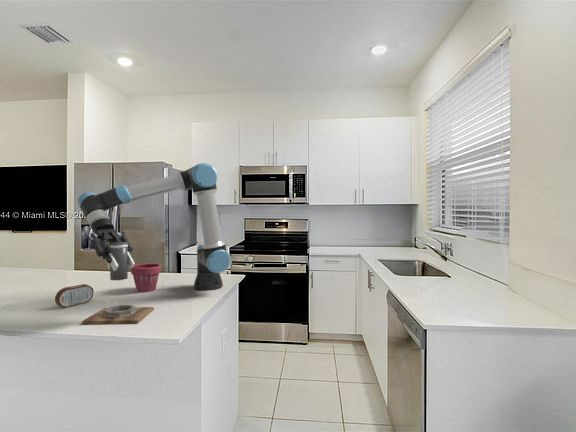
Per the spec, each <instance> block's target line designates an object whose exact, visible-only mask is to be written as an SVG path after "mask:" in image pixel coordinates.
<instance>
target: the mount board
mask: <svg viewBox="0 0 576 432" xmlns="http://www.w3.org/2000/svg"><path fill="white" fill-rule="evenodd" d="M154 310H155V307H154V306H135V305H133V304H118V305H114V306H109V307H103V308H102V309H100V310H99V311H97V312H95V313H93V314H92V315H90V316H88V317H86V318H84V319H83V320H81V325H116V324H117V325H120V324H121V325H122V324H123V325H125V324H126V325H129V324H139V323H140V322H142V321H143V319H145V318H146V317H147V316H149V315H150V314H151V313H152V312H153V311H154Z"/></svg>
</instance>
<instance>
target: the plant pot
mask: <svg viewBox="0 0 576 432" xmlns="http://www.w3.org/2000/svg"><path fill="white" fill-rule="evenodd" d="M161 272H162V265H161V264H159V263H139V264H134V266H133V267H132V268H130V274H131V275H132V277H133V280H134V285H135V289H136V292H139V293H148V292H153V291H155V290H156V288H157V284H158V280H159V275H160V273H161Z"/></svg>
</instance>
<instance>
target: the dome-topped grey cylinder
mask: <svg viewBox="0 0 576 432" xmlns="http://www.w3.org/2000/svg"><path fill="white" fill-rule="evenodd" d="M127 247H128V244H127V242H114V243H112V242H109V253H112V255H113V257H114V258H115V260H116V262H117V264H118V268H117V269H116V271H114V270H113V269H112V267H111V265H110V264H109V266H110V267H109V272H110V273H109V277H110V278H109V279H110V281H123V280H127V279H128V278H129V276H128V274H129V273H128V267H129V265H128V248H127Z"/></svg>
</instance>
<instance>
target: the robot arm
mask: <svg viewBox="0 0 576 432" xmlns="http://www.w3.org/2000/svg"><path fill="white" fill-rule="evenodd" d="M217 181H218V172H217V170H216V168H215V166H213V165H211V164H209V163H206V162H205V163H204V162H203V163H197V164H195V165H194V166H192V167H190V168H188V169H185V170H183V171H180V172H177V174H175V175H171V176H167V177H162V178H159V179H154V180H149V181H145V182H141V183H136V184H133V185H128V186H126V184H121V185H119V186H115V187H112V188H111V189H108V190H106V191H105V190H104V191H103V192H100V193H98V194H96V193H95V192H92V191H89V192H88V191H86V192H84V193H81V194H80V195H79V196H78V197H77V203H78V206H79V209H80V210H81V212H82V214H83V215H84V217H85V219H86V221H87V223H88V224H89V226H90V228H91V230H92V233H90V235H89V236H88V240H89V241H91V243H92V247H94V250H95V253H96V255H97V257H99V258H100V257H101V258H102V259H103V260H105V261H106V263H107V264H109V266H110V265H111V267H112V269H113V270H114V271H116V269H117V268H118V264H117V262H116V260H115V258H114V257H113V255H112V253H110V248H109V243H114V242H127V244H128V247H127V248H128V267H129V268H130V269H131V268H132V267H133V266H134V265H136V263H135V261H134V259H133V258H134V257H133V255H132V251H133V250H134V247H133V245H132V244H131V242H130V241H129V240H128V238H127V237H126V234H125V232H124V231H121V232H118V231H117V230H116V229H115V226H114V224H113V222H112V221H111V219H110V217H109V214H107V211H109V210H110V209H112V208H116V207H119V206H121V205H125V204H128V203H133V202H136V201H140V200H144V199H149V198H151V197H156V196H160V195H164V194H168V193H171V192H176V191H180V190H181V191H187V190H192V194H194V196H195V197H196V200H197V207H198V213H199V219H200V225H201V230H202V237H203V244H200V245H198V246H197V247H196V248H197V249H196V267H197V269H196V270H197V271H196V275H195V279H194V283H193V289H196V290H199V291H211V290H213V291H214V290H219V289H222V287H223V285H224V284H223V279H222V275H221V273H224V272H225V271H227V269H229V267H230V265H231V261H232V260H231V256H230V254H229V252H228V251H227V250H228V249H227V245H226V242H224V241H223V239H222V234H221V228H220V227H221V226H220V222H219V221H220V220H219V213H218V209H217V202H216V201H217V200H216V195H215V194H216V192H217V190H218V188H217Z"/></svg>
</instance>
